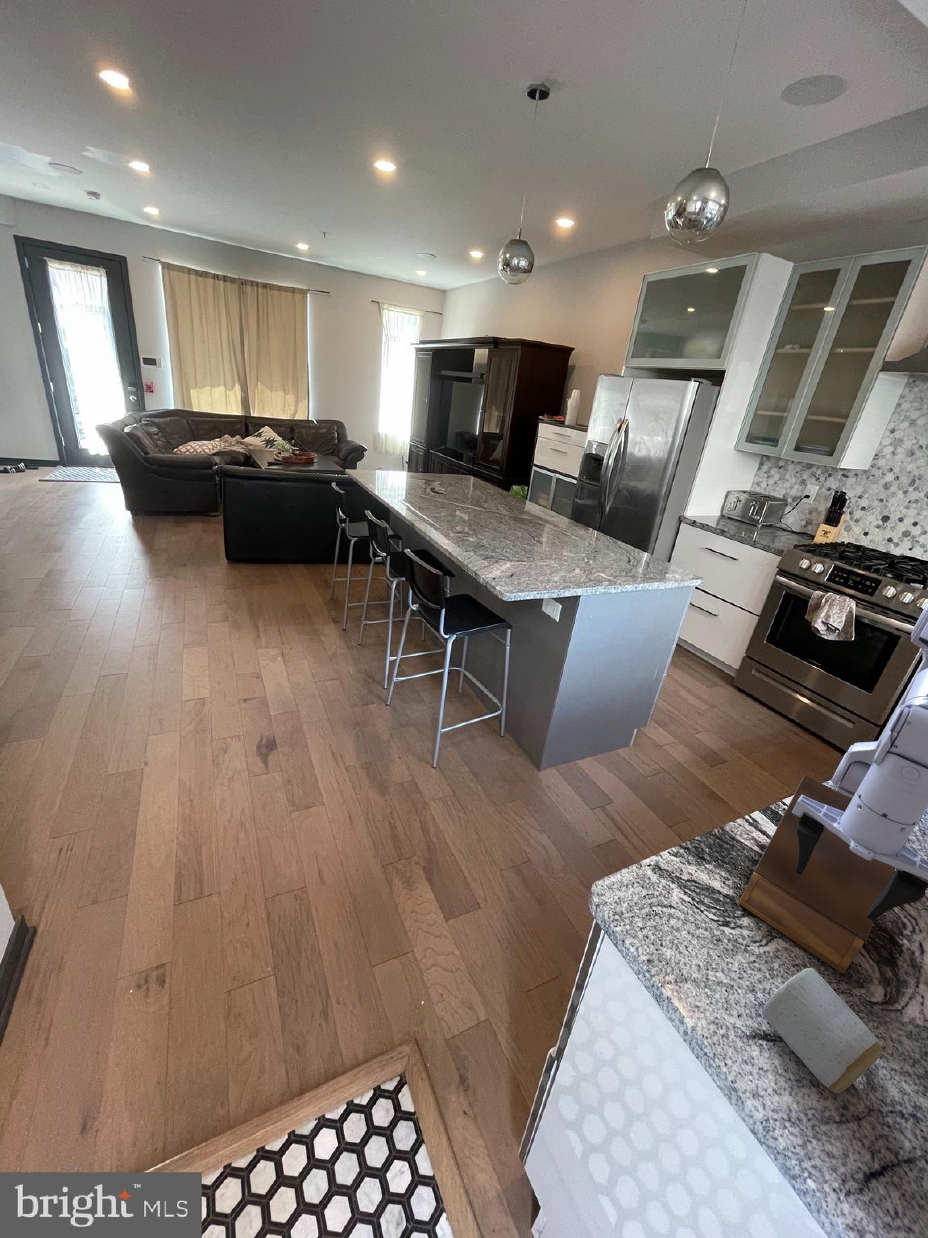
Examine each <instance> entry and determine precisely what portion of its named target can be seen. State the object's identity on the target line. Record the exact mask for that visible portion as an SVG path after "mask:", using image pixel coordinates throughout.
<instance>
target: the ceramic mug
mask: <svg viewBox="0 0 928 1238" xmlns="http://www.w3.org/2000/svg"><path fill="white" fill-rule="evenodd" d="M761 1011H762V1012H761V1013H762V1016H763V1017H764V1019H765V1020H766V1021H767V1022H768V1024H769V1025H771V1027H772V1029H774V1030H775V1032H777V1034H778V1035H779V1036H780V1037H781V1039H782V1040H783V1041H784V1042H785V1043H786V1044H787V1046H789V1048H790V1049H791V1050H792V1051H793V1052H794V1053H795V1055H797V1056H798V1058H799V1059H800V1060H801V1061H802V1063H803V1064H804V1065H805V1066H806V1067H807V1068H808V1070H809V1071H810V1072H811V1073H812V1075H813V1076H814V1077H815V1078H816V1080H818V1081H819V1083H821V1084H822V1085H823V1086H824V1087H825V1088H827V1089H828V1090H829V1091H830V1092H832V1093H835V1094H841V1093H842V1092H844V1091H845V1090H847V1089H848V1088H849V1087H850V1086H851V1085H853V1084H854V1083H855V1082H856V1081H857V1080H858V1079H859V1078H860V1077H861V1076H863V1075H864V1074H865V1073H866V1072H867V1071H868V1070H869V1069H870V1068H871V1067H872V1066H873V1065H874V1064H875V1063H876V1062H877V1061H878V1060H879V1059H880V1058H881V1056H882V1054H883V1048H882V1045H881V1043H880V1041H879V1040H878V1039H877V1038H876V1035H874V1034H873V1032H872V1031H871V1030H870V1028H869V1027H868V1026H867V1025H866V1024H865V1022H864V1021H863V1020H861V1018H860V1017H859V1016H858V1015H857V1014H856V1013H855V1012H854V1011H853V1010H852V1009H851V1008H850V1007H849V1006H848V1005H847V1003H845V1001H844V1000H843V999H842V998H841V996H839V995H838V994H837V992H836V991H835V990H834V989H833V988H832V987H831V986H830V985H829V983H828V982H827V981H826V980H825V979H824V977H822V976H821V974H820V973H819V972H817V970H816V969H814V968H813V967H808V968H807V967H806V968H804V969H803V970H801V971H800V972H798V973H796V974H794V975H793V976H792V977H791V978H789V979H788V980H787V981H785V982H784V983H783V985H781V987H779V989H777V990H776V991H775V992H774V993H773V995H772V996H771V997H770V998H769V1000H768V1001H767V1002H766V1003H765V1005H764V1007H763V1008H762V1010H761Z"/></svg>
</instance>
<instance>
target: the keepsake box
mask: <svg viewBox="0 0 928 1238" xmlns="http://www.w3.org/2000/svg"><path fill="white" fill-rule="evenodd" d="M738 904H739V905H740V906H742V907H743V908H744V909H746V910H747V911H749V912H751V913H752V914H753V915H755V916H756V917H758V918H759V919H761V920H762V921H764V922H765V923H767V924H768V925H769V926H771V927H773V928H774V929H775V930H777V931H778V932H780V933H782V934H783V935H784V936H786V937H787V938H788V939H790V940H791V941H793V942H795V943H796V944H797V945H799V946H801V947H802V948H803V949H805V950H806V951H808V952H810V953H811V954H812V955H814V956H815V957H817V958H818V959H819V960H821V961H823V962H824V963H826V964H827V965H828V966H830V967H832V968H833V969H835V970H836V971H838V972H839V973H840V974H841V975H844V974H845V972H846V970H847V969H848V968H849V966H850V965H851V963H852V961H853V960H854V959H855V957H856V956H857V954H858V953H859V952H860V950H861V948H862V947H863V946H864V944H865V941H863V940H861V939H860V938H858V937H857V936H855V935H853V934H852V933H850V932H849V931H847V930H845V929H844V928H842V927H841V926H839V925H838V924H836V923H834V922H833V921H831V920H830V919H828V918H826V917H825V916H823V915H822V914H820V913H819V912H817V911H815V910H814V909H812V908H811V907H809V906H807V905H806V904H804V903H803V902H801V901H799V900H798V899H796V898H795V897H793V896H792V895H790V894H788V893H787V892H785V891H784V890H782V889H780V888H779V887H777V886H776V885H774V884H773V883H771V882H769V881H768V880H766V879H765V878H763V877H761V876H760V875H758V874H757V873H755V872H754V871H753V873H752V875H751V877H750V879H749V881H748V882H747V885H746V887H745V888H744V891H743V893H742V895H741V897H740V898H739V900H738Z"/></svg>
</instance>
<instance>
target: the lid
mask: <svg viewBox="0 0 928 1238" xmlns="http://www.w3.org/2000/svg"><path fill="white" fill-rule="evenodd" d="M836 790H837V789H834V788H832V787H830V786H828V785H826V784H824V783H822V782H820V781H818V780H816V779H813V778H812V777H810V776H808V775H805V774H804V775H803V776H802V779H801V781H800V782H799V784H798V786H797V788H796V790H795V792H794V794H793V796H792V798H791V799H790V802H789V803H788V806H787V808H786V810H785V811H784V812H783V813H784V814H783V815H782V817H781V819H780V821H779V823H778V825H777V827H776V829H775V831H774V833H773V835H772V836H771V838H770V840H769V842H768V845H767V846H766V848H765V850H764V852H763V854H762V855H761V857H760V859H759V862H758V864H757V866H756V867H755V869H754V871H753V873H754V872H755V873H757V874H758V875H760V876H761V877H763V878H765V879H766V880H768V881H769V882H771V883H773V884H774V885H776V886H777V887H779V888H780V889H782V890H784V891H785V892H787V893H788V894H790V895H792V896H793V897H795V898H796V899H798V900H799V901H801V902H803V903H804V904H806V905H807V906H809V907H811V908H812V909H814V910H815V911H817V912H819V913H820V914H822V915H823V916H825V917H826V918H828V919H830V920H831V921H833V922H834V923H836V924H838V925H839V926H841V927H842V928H844V929H845V930H847V931H849V932H850V933H852V934H853V935H855V936H857V937H858V938H860V939H861V940H863V941H864V942H866V941H867V940H868V938H869V935H870V932H871V930H872V927H873V925H874V923H875V921H872V920H871V919H869V918H867V916H868V913H869V910H870V907H871V906H872V904H873V902H874V901H875V899H876V898H877V897H878V896H879V894H880V893H881V892H882V891H883V890H884V888H885V887H886V886H887V884H888V882H889V881H890V879H891V878H892V876H893V874H894V872H895V871H896V868H895V867H893V866H891V865H889V864H886V863H884V862H881V861H879V860H876V859H874V858H873V859H872V860H871V861H870V860H866V859H864V858H863V857H861V856H859V855H857V854H856V853H854V852H852V851H851V850H850V845H849V844H848V843H846V842H845V841H844V840H842V839H841V838H840V837H839V836H837V835H836V834H834V833H833V832H831V831H829V830H827V829H826V828H825V829H824V831H823V833H822V835H821V836H820V838H819V840H818V842H817V844H816V845H815V847H814V850H813V852H812V855H811V857H810V860H809V862H808V864H807V866H806V867H805V869H804V871H803V873H802V875H800V874H798V873H796V872H795V871H796V868H797V865H798V859H799V841H798V835H797V825H798V823H799V821H800V819H801V818H802V817H799V816H797V815H795V814H794V813H792V811H793V809H794V807H795V805H796V803H797V801H798V799H799V798H800V797H801V795H804V796H806V797H808V798H810V799H812V800H814V801H817V802H819V803H822V804H825V805H827V806H830V807H833V808H835V809H838V810H841V811H843V812H845V811H846V809H847V807H848V805H849V804H850V802H851V800H852V798H850V797H848V796H846V795H844V794H842V793H840V792H838V791H836ZM907 840H908V839H907ZM907 840H906V842H905V843H904V845H906V843H907Z"/></svg>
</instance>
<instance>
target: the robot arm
mask: <svg viewBox="0 0 928 1238" xmlns="http://www.w3.org/2000/svg"><path fill="white" fill-rule="evenodd" d="M910 642H911V643H912V644H914V645H915V646H917V647H918V648H920V649H921V650H922V661H921V663H920V664H919V667H918V668H917V670H916V671H915V674H914V676H913V677H912V679H911V681H910V683H909V685H908V686H907V689H906V690H905V692H904V694H903V695H902V697H901V699H900V701H899V703H898V705H897V706H896V707H895V709H894V712H893V713H892V715H891V717H890V718H889V721H888V722H887V724H886V726H885V728H884V729H883V731H882V733H881V735H880V737H879V739H878V740H876V741H864V742H862V741H861V742H854V743H853V744H851V745H850V746H849V748H848V750H847V751H846V752H845V754H844V755H843V757H842V758H841V761H840V762H839V764H838V766H837V768H836V770H835V772H834V774H833V776H832V778H831V783H832V786H833V787H835V788H836V789H835V790H836V791H838V792H840V793H842V794H844V795H846V796H848V797H850V798H852V800H851V802H850V804H849V805H848V807H847V809H846V811H845V812H843V811H841V810H838V809H835V808H833V807H830V806H827V805H825V804H822V803H819V802H817V801H814V800H812V799H810V798H808V797H806V796H804V795H801V797H800V798H799V799H798V801H797V803H796V805H795V807H794V809H793V811H792V813H794V814H795V815H797V816H799V817H802V818H801V819H800V821H799V823H798V825H797V835H798V841H799V859H798V865H797V868H796V871H795V872H796V873H798V874H800V875H802V873H803V871H804V869H805V867H806V866H807V864H808V862H809V860H810V857H811V855H812V852H813V850H814V847H815V845H816V844H817V842H818V840H819V838H820V836H821V835H822V833H823V831H824V829H825V828H826V829H827V830H829V831H831V832H833V833H834V834H836V835H837V836H839V837H840V838H841V839H842V840H844V841H845V842H846V843H848V844H849V845H850V850H851V851H852V852H854V853H856V854H857V855H859V856H861V857H863V858H864V859H866V860H870V861H871V860H872V859H873V858H874V859H876V860H879V861H881V862H884V863H886V864H889V865H891V866H893V867H895V871H894V873H893V876H892V878H891V879H890V881H889V882H888V884H887V886H886V887H885V888H884V890H883V891H882V892H881V893H880V894H879V896H878V897H877V898H876V899H875V901H874V902H873V904H872V906H871V907H870V910H869V913H868V916H867V918H869V919H871V920H872V921H874V922H875V921H876V920H877V919H879V918H880V917H881V916H882V915H884V914H885V913H887V912H889V911H890V910H893V909H896V908H897V907H901V906H905V905H909V904H913V903H918V902H920V901H921V900H922V899H924V897H925V895H926V893H927V892H926V891H927V890H928V860H927V859H926V858H924V857H922V855H920V854H919V853H917V852H916V851H914V850H913V849H912V848H910V847H909V846H907V845H906V843H907V841H906V840H908V839H909V838H910V836H911V834H912V833H913V832H914V830H915V828H916V827H917V825H918V824H919V822H920V820H921V819H922V817H923V816H924V814H925V813H926V811H927V809H928V601H927V603H926V605H925V606H924V608H923V610H922V611H921V613H920V616H919V617H918V619H917V621H916V623H915V625H914V627H913V629H912V632H911V634H910ZM905 842H906V843H905ZM904 843H905V845H904Z"/></svg>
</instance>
